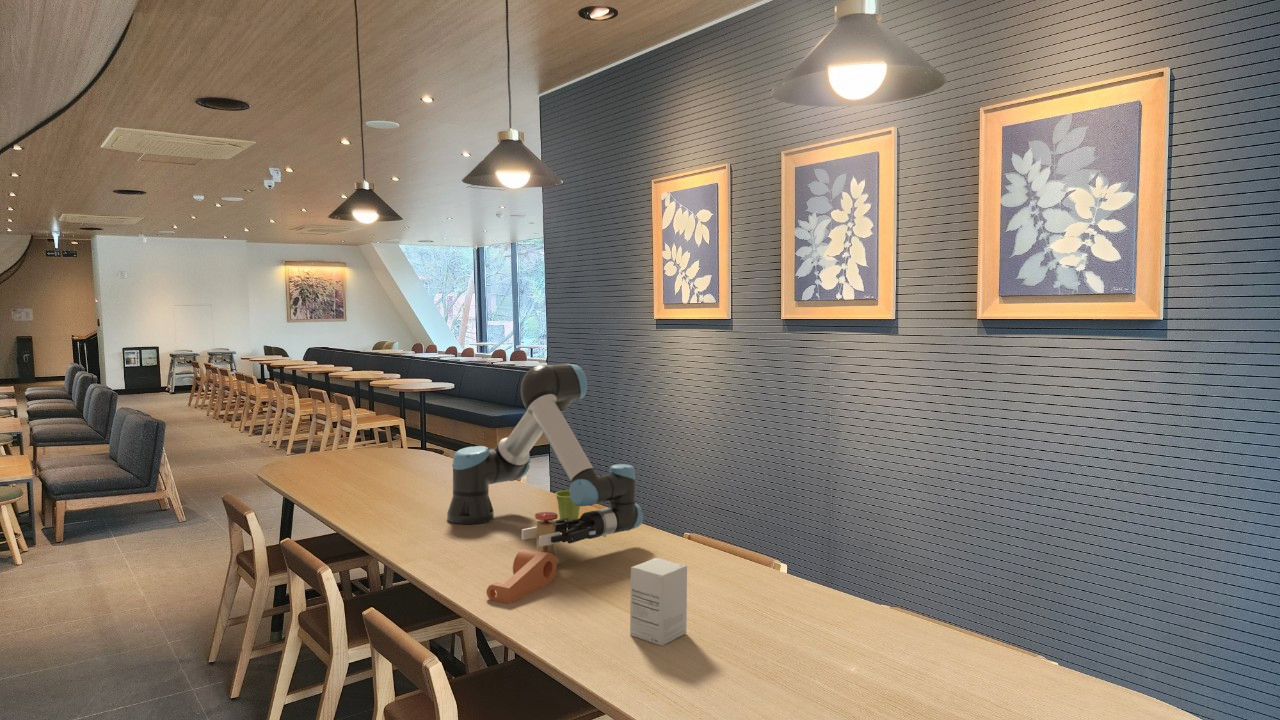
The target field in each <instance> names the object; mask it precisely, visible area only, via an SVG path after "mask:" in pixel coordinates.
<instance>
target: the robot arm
mask: <svg viewBox="0 0 1280 720" xmlns="http://www.w3.org/2000/svg"><path fill="white" fill-rule="evenodd" d="M587 391H588V379H587V375H586V373H585V371H584V370H583V369H582V368H581V366H580V365H577V364H573V363H572V364H571V363H563V364H562V363H561V364H542V365H541V364H539V365H536V366H533V367H532V368H530V369H529V370H528V371H527V372H526V373H525V374H524V376H523V378H522V380H521V383H520V397H521V400H522V403H523V405H524V406H523V407H524V408H525V409H526V412H525V413H524V414H523V415H522V417H521V419H520V420H519V422H518V423H517V424H516V426H515V427H514V428H513V430H512V431H511V433H510V434H509V435H508V436H507V437H503V438H502V439H500V441H499V442H498V444H497V445H496V447H494V448H490V449H489V447H487V446H483V445H475V446H467V447H463V448H460V449H459V450H457V451H456V452H454V454H453V458H452V459H453V460H452V498H451V501H450V504H449V506H448V510H447V515H446V516H447V518H446V519H447V520H446V521H448V522H450V523H453V524H460V525H474V524H482V523H486V522H490V521H492V520H493V519H494V518H495V517H494V515H495V514H494V513H495V511H494V508H493V504H492V502H491V499H490V495H489V491H490V489H489V488H490V485H492V484H500V483H504V482H514V481H516V480H520V479H522V478H524V476H525V477H526V475H527V473H528V472H529V469H530V464H531V456H530V451H531V450H532V448H533V447H534V446H535V445H536V443H537V442H538V440H539V439H540V437H542V434H544V436H545V438H546V440H547V441H548V443H549V446H550V447H551V449H552V451H553V453H554V454H555V456H556V458H557V459H558V461H559V463H560V465H561V466H562V468H563V470H564V472H565V473H566V475H567V478H568V479H569V481H570V482H571V484H570V485H569V488H568V489H569V493H570V498H571V500H572V502H573V503H574V504H575V505H577V506H580V507H589V506H594V505H597V504H600V503H604V502H609V507H605V508H600V509H596V510H590V511H586V512H584V513H582V514H581V516H579V517H580V518H578V519H573V520H571V521H568V518H565V519H554V521H555V522H556V529H555V533H551V534H546V535H541V536H539V546H540V547H542V546H546V545H550V544H555V545H556V544H558V543H566V542H567V544H574V543H576V542H580V541H583V540H586V539H588V540H591V539H596V538H599V537H604V538H606V537H607V536H608V535H613V534H617V533H621V532H622V533H623V532H629V531H631V530H634V529H637V528H639V527H640V526H641V525H642V523H643V522H644V513H643V511H642V507H641V505H640V504H638V503H636V472H635V471H636V470H635V467H634V466H633V465H632V464H625V463H624V464H623V463H618V464H617V463H616V464H613V465H611V466H609V471H608V474H602V475H598V474H597V472H596V470H595V469H594V467H593V465H592V463H591V462H590V460H589V458H588V457H587V455H586V453H585V451H584V450H583V448H582V446H581V445H580V442H579V441H578V439H577V436H576V435H575V433H574V432H573V430H572V428H571V427H570V425H569V424H568V421H567V420H566V418H565V416H564V415H563V413H562V412H565V411H566V410H567V409H568V408H569V407H570V405H571V403H572V402H573V401H576V402H577V401H580V400H582V399H583V398H585V395H586V394H587ZM533 538H534V539H535V538H537V526H532V527H527V528H523V529H521V540H522V541H525V540H530V539H533Z"/></svg>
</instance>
